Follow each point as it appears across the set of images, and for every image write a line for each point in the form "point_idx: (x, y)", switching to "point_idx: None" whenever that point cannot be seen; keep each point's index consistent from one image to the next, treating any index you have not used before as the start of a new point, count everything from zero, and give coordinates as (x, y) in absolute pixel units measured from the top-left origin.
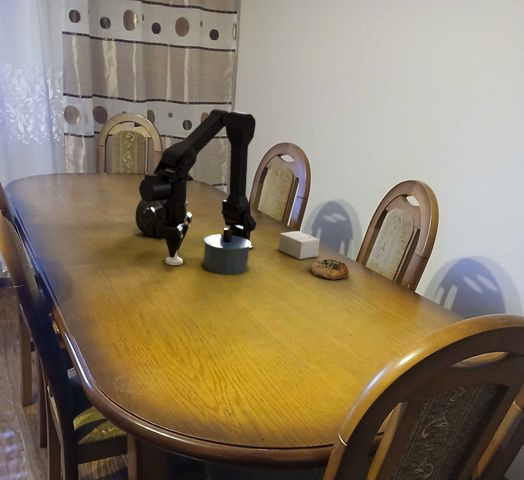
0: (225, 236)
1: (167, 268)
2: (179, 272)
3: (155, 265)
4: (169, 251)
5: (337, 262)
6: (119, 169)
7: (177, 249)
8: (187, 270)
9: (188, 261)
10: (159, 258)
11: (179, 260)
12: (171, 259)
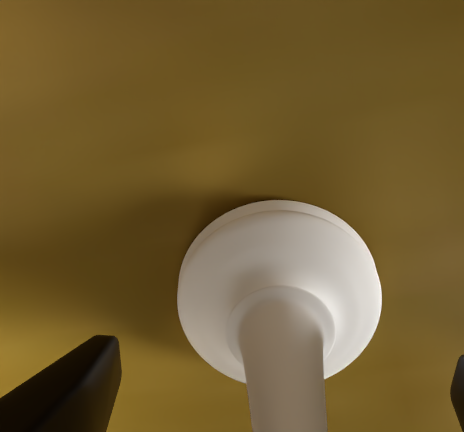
0: None
1: (55, 255)
2: (3, 369)
3: (91, 107)
4: (17, 401)
5: None
6: None
7: (460, 394)
8: None
9: (346, 409)
10: (383, 100)
11: (238, 372)
12: (222, 296)
